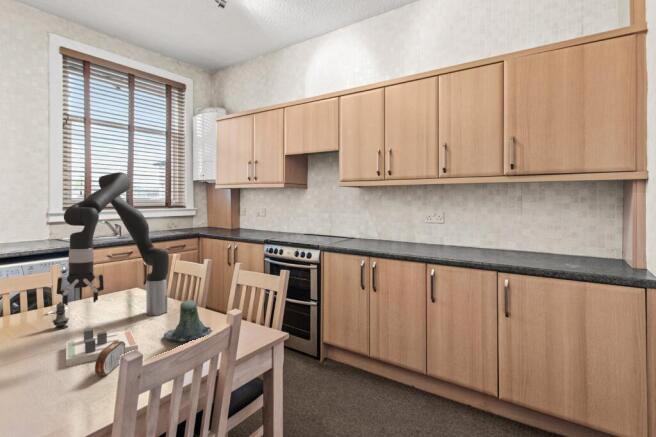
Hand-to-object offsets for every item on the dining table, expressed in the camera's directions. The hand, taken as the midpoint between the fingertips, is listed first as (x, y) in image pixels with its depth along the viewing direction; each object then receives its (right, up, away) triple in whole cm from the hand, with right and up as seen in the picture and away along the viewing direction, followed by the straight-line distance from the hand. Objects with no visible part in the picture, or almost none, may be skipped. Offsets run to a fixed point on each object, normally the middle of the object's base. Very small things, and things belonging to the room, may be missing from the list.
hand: (80, 303), depth 129 cm
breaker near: (+6, -17, -3) cm, 18 cm away
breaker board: (+5, -19, +4) cm, 20 cm away
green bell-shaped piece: (+33, -19, +19) cm, 42 cm away
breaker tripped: (+5, -16, +4) cm, 18 cm away
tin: (+18, -20, -11) cm, 29 cm away
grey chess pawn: (-27, -17, +25) cm, 40 cm away
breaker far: (-1, -16, +6) cm, 17 cm away
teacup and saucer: (-41, -16, +45) cm, 63 cm away
